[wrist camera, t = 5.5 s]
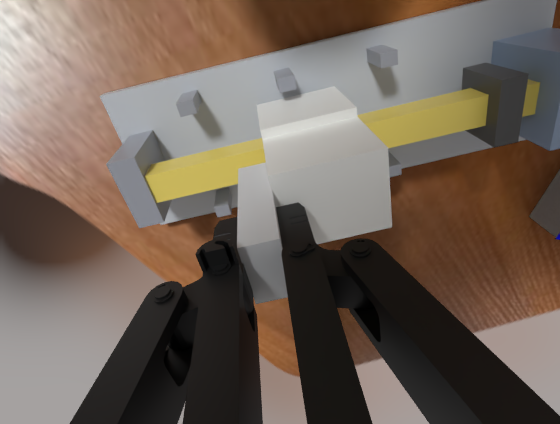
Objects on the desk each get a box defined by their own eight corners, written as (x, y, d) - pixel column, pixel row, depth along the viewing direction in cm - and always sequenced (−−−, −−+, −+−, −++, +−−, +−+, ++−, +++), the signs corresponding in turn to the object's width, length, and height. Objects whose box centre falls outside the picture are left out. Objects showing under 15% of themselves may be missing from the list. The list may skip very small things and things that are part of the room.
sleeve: (273, 175, 25) (289, 259, 17) (256, 105, 22) (265, 164, 14) (343, 158, 25) (392, 235, 17) (334, 86, 22) (387, 136, 14)
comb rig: (162, 219, 28) (141, 278, 22) (104, 93, 23) (55, 126, 17) (525, 134, 27) (604, 172, 21) (550, -17, 22) (664, -22, 16)
